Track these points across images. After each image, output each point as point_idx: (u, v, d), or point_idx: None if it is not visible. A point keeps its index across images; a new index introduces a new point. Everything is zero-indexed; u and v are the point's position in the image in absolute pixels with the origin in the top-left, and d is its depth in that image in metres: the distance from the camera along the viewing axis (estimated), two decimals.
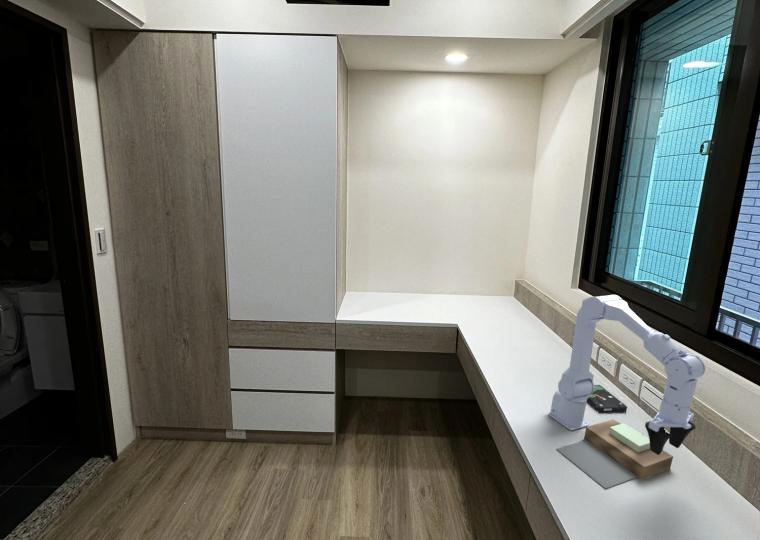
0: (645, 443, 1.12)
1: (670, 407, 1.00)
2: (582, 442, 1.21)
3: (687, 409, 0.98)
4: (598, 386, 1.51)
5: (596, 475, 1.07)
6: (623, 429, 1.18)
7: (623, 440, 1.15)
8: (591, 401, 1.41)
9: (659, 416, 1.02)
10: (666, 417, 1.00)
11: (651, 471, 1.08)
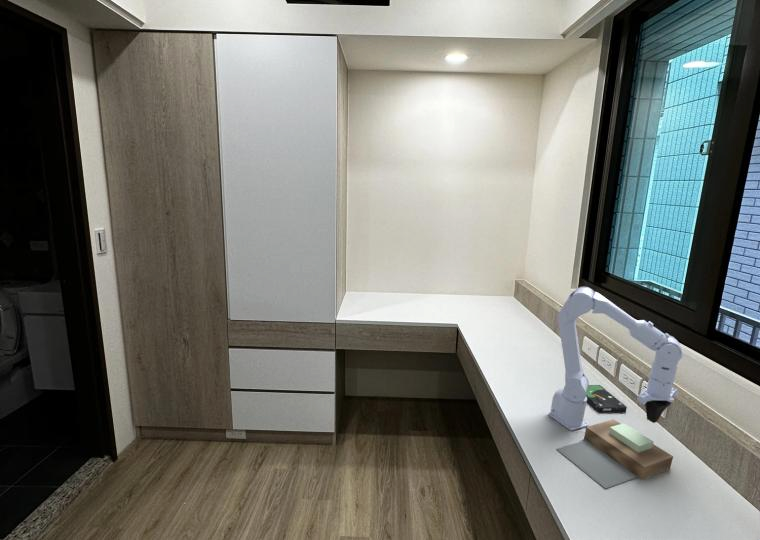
0: (645, 443, 1.12)
1: (656, 383, 1.14)
2: (582, 442, 1.21)
3: (670, 384, 1.13)
4: (598, 386, 1.51)
5: (596, 475, 1.07)
6: (623, 429, 1.18)
7: (623, 440, 1.15)
8: (591, 401, 1.41)
9: (646, 391, 1.17)
10: (652, 392, 1.15)
11: (651, 471, 1.08)
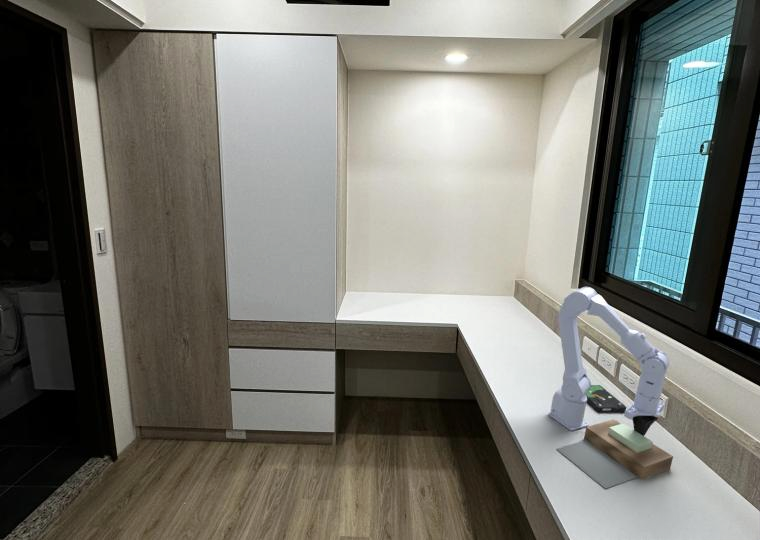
0: (644, 443, 1.12)
1: (643, 398, 1.14)
2: (582, 442, 1.21)
3: (657, 400, 1.12)
4: (598, 386, 1.51)
5: (596, 475, 1.07)
6: (622, 429, 1.18)
7: (622, 440, 1.15)
8: (590, 401, 1.41)
9: (634, 406, 1.16)
10: (639, 407, 1.14)
11: (651, 471, 1.08)
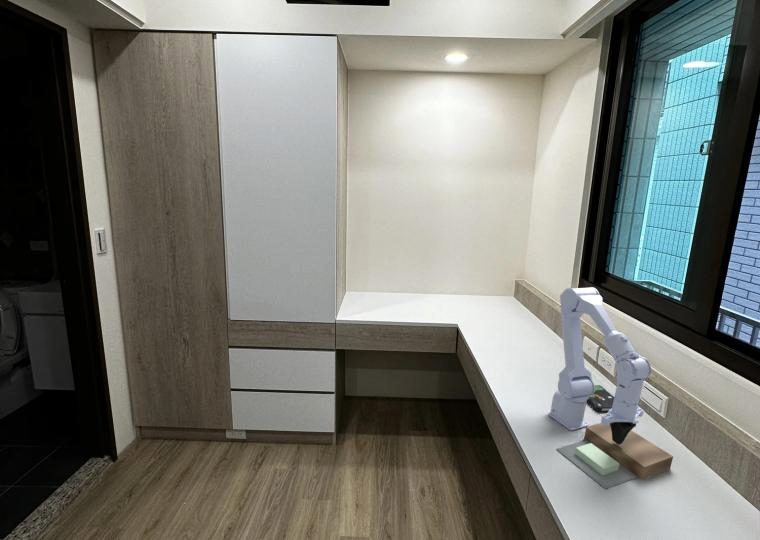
0: None
1: (620, 404, 1.10)
2: (582, 442, 1.21)
3: (635, 406, 1.09)
4: (598, 386, 1.51)
5: (596, 475, 1.07)
6: None
7: None
8: (590, 401, 1.41)
9: (611, 412, 1.13)
10: (617, 413, 1.11)
11: (651, 471, 1.08)
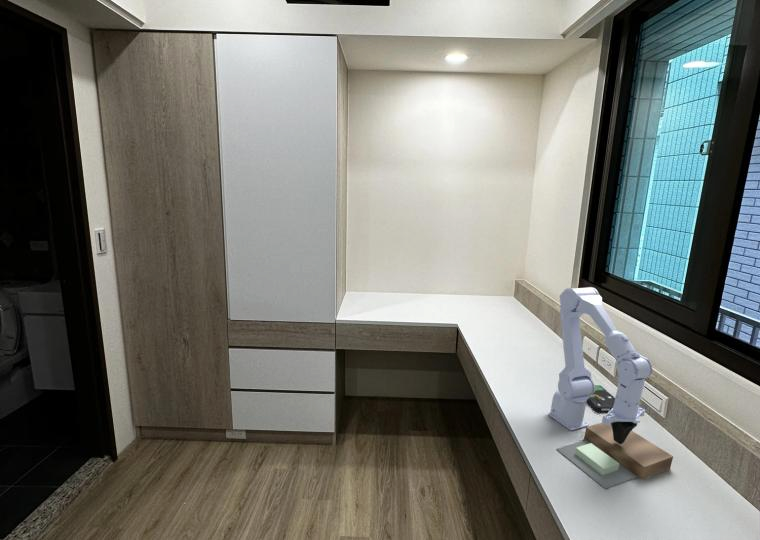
0: None
1: (621, 403, 1.10)
2: (582, 442, 1.21)
3: (636, 405, 1.09)
4: (599, 387, 1.51)
5: (596, 475, 1.07)
6: None
7: None
8: (589, 401, 1.41)
9: (612, 412, 1.13)
10: (618, 412, 1.11)
11: (651, 471, 1.08)
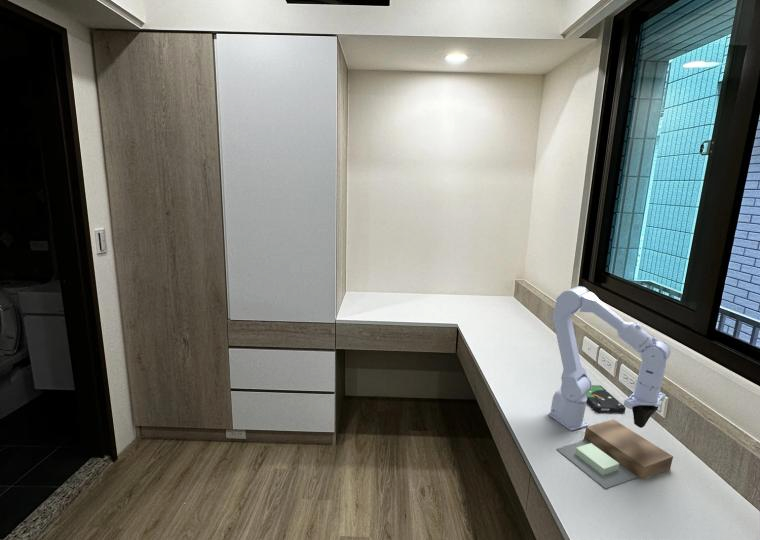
0: None
1: (643, 387, 1.12)
2: (582, 442, 1.21)
3: (657, 389, 1.11)
4: (599, 387, 1.50)
5: (596, 475, 1.07)
6: None
7: None
8: (589, 401, 1.41)
9: (633, 396, 1.15)
10: (639, 396, 1.13)
11: (651, 471, 1.08)
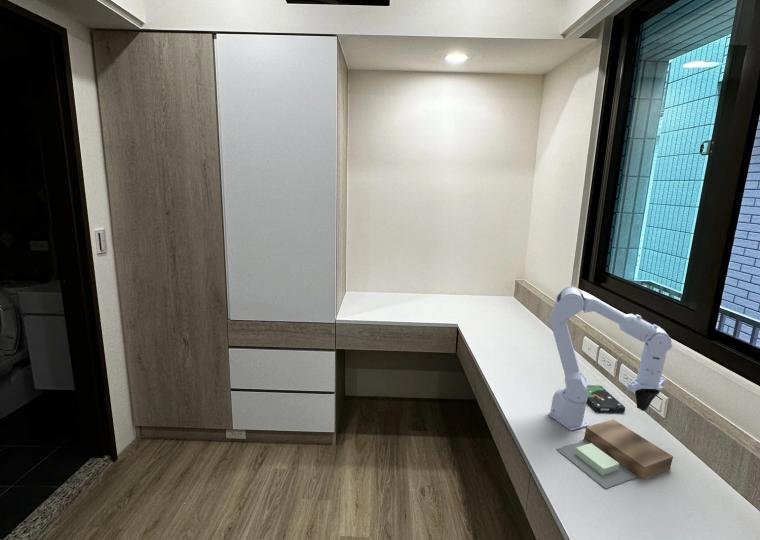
0: None
1: (645, 372, 1.18)
2: (582, 442, 1.21)
3: (659, 373, 1.17)
4: (599, 387, 1.50)
5: (596, 475, 1.07)
6: None
7: None
8: (589, 401, 1.41)
9: (636, 380, 1.21)
10: (642, 381, 1.19)
11: (651, 471, 1.08)
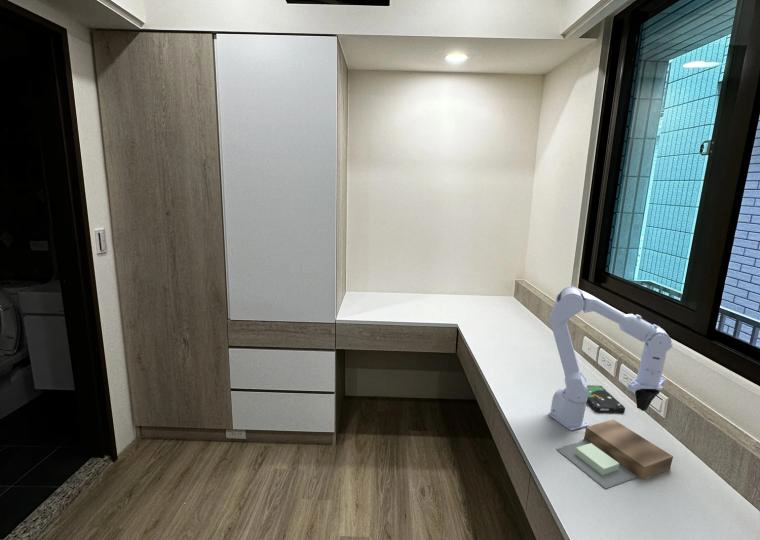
0: None
1: (645, 372, 1.18)
2: (582, 442, 1.21)
3: (659, 373, 1.17)
4: (599, 387, 1.50)
5: (596, 475, 1.07)
6: None
7: None
8: (589, 401, 1.41)
9: (636, 380, 1.21)
10: (642, 381, 1.19)
11: (651, 471, 1.08)
